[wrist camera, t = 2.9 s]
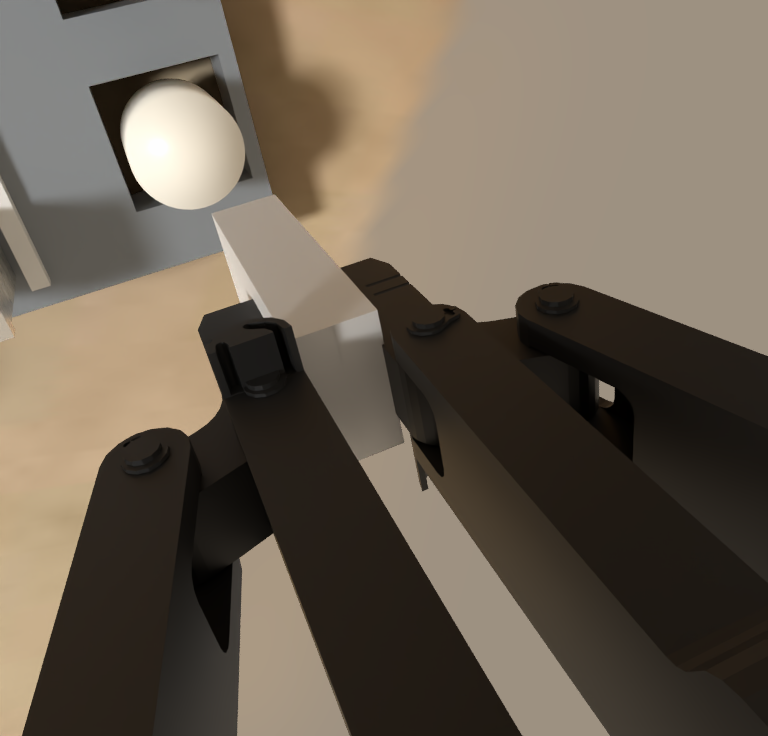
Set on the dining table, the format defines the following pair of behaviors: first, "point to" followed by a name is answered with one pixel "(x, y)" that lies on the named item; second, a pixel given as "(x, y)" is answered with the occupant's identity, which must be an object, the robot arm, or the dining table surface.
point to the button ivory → (181, 144)
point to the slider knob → (6, 299)
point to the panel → (99, 144)
